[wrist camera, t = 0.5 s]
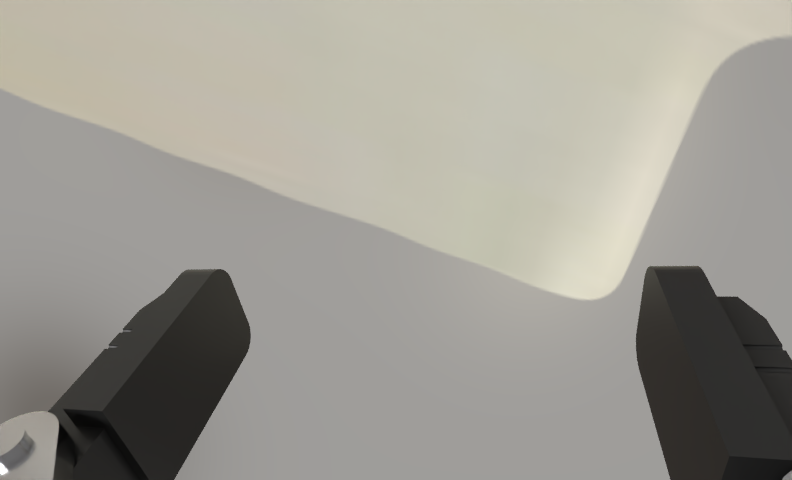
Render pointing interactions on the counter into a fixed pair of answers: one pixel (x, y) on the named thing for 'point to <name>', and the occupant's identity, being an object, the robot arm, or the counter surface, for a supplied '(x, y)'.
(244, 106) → the counter surface
